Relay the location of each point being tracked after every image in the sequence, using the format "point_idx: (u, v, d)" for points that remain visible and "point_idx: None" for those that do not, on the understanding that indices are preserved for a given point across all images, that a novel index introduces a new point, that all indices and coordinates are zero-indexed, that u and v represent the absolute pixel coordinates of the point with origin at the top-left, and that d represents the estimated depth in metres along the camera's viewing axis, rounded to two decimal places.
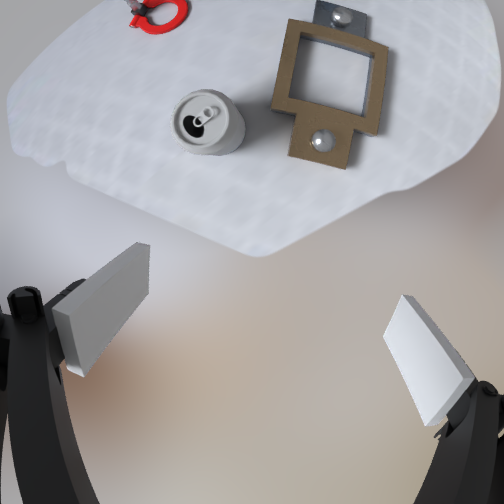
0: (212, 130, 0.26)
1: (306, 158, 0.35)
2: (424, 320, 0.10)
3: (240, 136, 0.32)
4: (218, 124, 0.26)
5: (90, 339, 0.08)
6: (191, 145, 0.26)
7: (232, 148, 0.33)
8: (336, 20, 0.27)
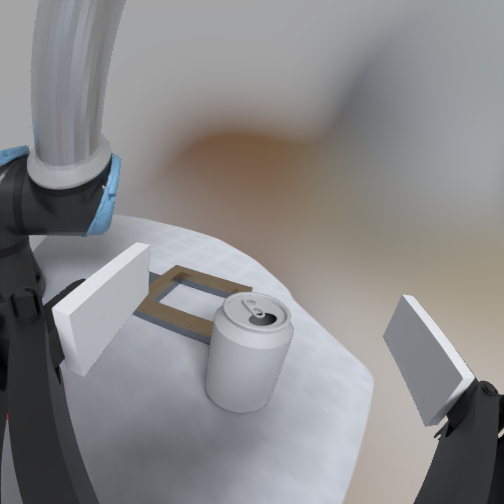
0: (269, 308, 0.26)
1: None
2: (424, 320, 0.10)
3: None
4: (263, 304, 0.27)
5: (90, 339, 0.08)
6: (287, 319, 0.24)
7: None
8: None
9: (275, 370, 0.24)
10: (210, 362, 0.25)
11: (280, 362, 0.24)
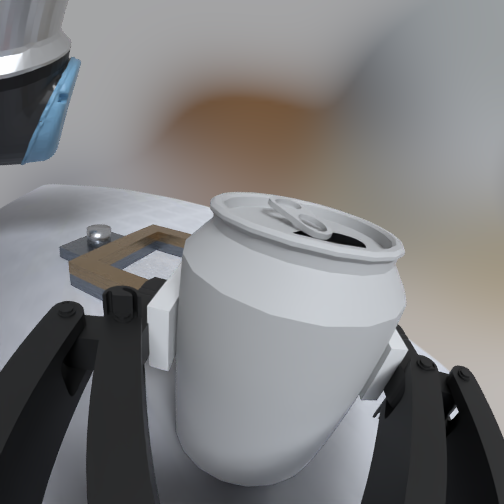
0: (334, 227, 0.10)
1: None
2: None
3: None
4: None
5: (175, 334, 0.09)
6: (396, 241, 0.08)
7: None
8: (102, 236, 0.27)
9: (357, 393, 0.08)
10: (178, 376, 0.09)
11: (372, 370, 0.08)
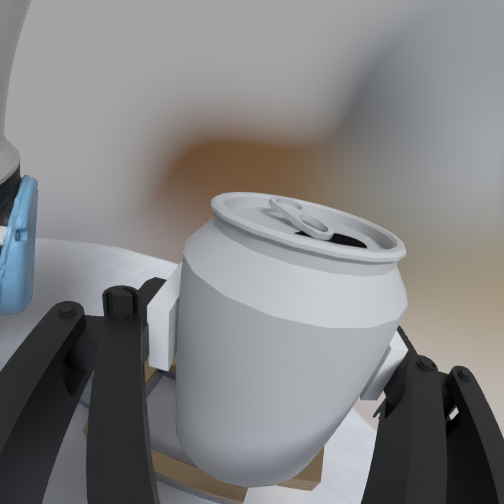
0: (335, 227, 0.10)
1: (320, 461, 0.19)
2: None
3: None
4: None
5: (175, 334, 0.09)
6: (397, 241, 0.08)
7: None
8: None
9: (358, 394, 0.08)
10: (178, 377, 0.09)
11: (373, 371, 0.08)
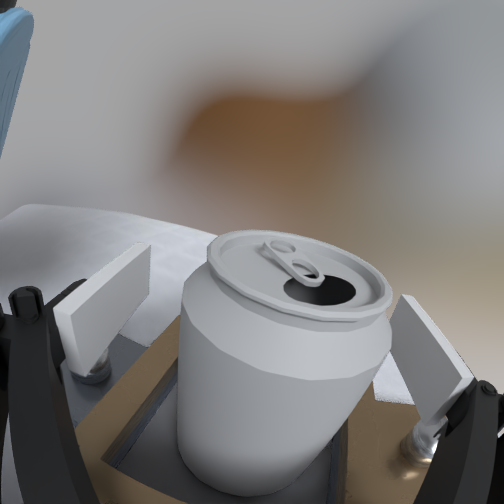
0: (327, 266, 0.10)
1: None
2: (423, 320, 0.10)
3: None
4: (309, 257, 0.11)
5: (91, 339, 0.08)
6: (385, 287, 0.08)
7: None
8: (94, 367, 0.13)
9: (343, 420, 0.08)
10: (179, 402, 0.09)
11: (358, 401, 0.08)
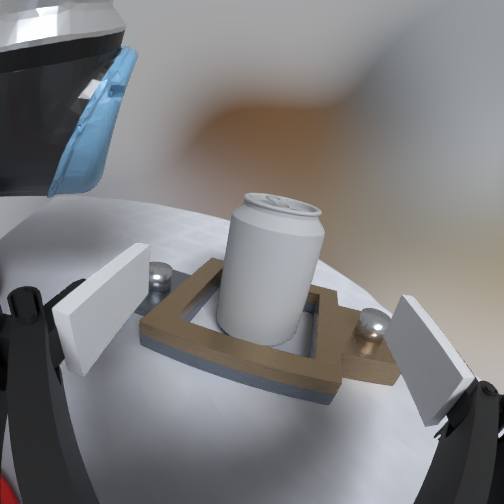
0: (295, 207, 0.23)
1: None
2: (424, 320, 0.10)
3: None
4: None
5: (90, 339, 0.08)
6: (318, 211, 0.21)
7: None
8: (164, 278, 0.25)
9: (306, 277, 0.21)
10: (225, 274, 0.22)
11: (312, 267, 0.21)
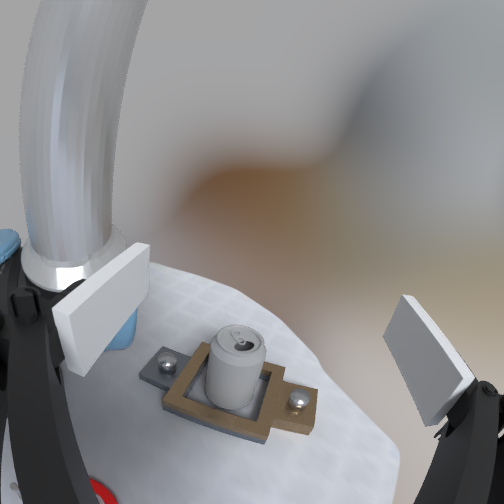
0: (249, 337, 0.36)
1: (314, 414, 0.34)
2: (424, 320, 0.10)
3: None
4: (245, 333, 0.37)
5: (90, 339, 0.08)
6: (260, 346, 0.34)
7: None
8: (172, 366, 0.39)
9: (253, 380, 0.34)
10: (208, 373, 0.35)
11: (256, 375, 0.34)
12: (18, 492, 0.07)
